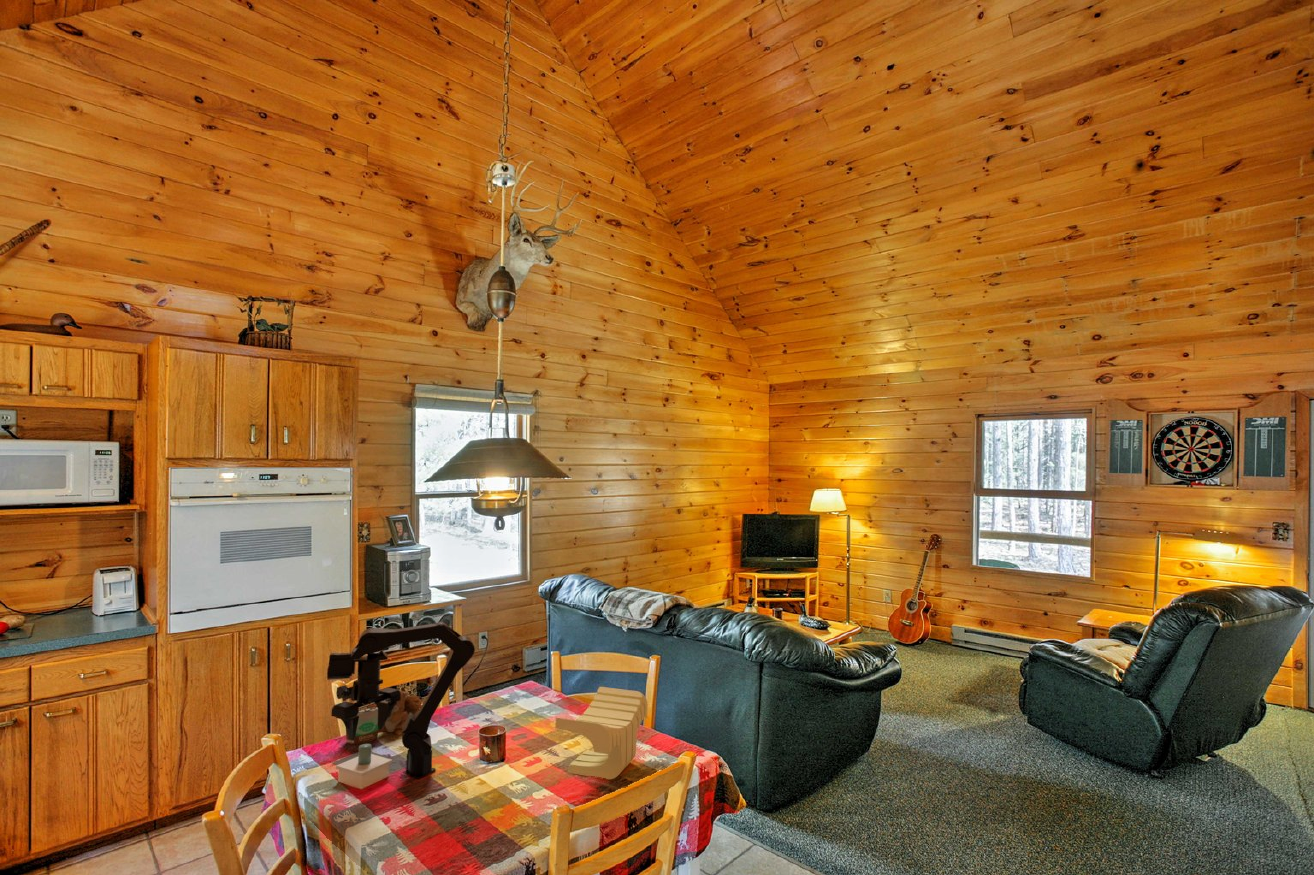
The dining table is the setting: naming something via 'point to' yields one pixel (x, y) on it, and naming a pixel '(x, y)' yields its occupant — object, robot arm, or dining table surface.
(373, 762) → the lid
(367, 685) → the robot arm
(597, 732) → the slatted curved stool
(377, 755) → the mat
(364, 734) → the food container
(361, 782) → the dish
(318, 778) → the dining table surface
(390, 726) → the stuffed squirrel
